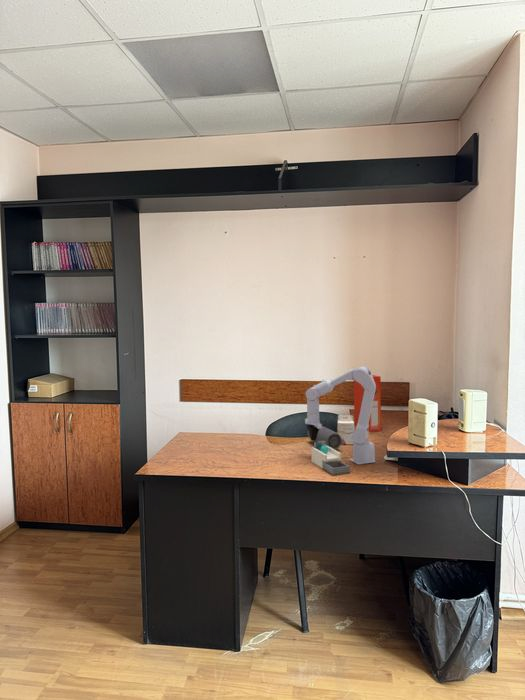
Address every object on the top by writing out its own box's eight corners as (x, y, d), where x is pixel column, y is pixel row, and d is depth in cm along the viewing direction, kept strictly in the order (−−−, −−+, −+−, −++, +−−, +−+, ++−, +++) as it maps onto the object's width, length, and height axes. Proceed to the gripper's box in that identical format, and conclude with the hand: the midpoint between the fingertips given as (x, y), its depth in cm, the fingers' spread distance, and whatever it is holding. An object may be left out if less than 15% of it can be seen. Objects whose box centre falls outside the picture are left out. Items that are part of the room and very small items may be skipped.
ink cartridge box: (337, 444, 252) (337, 417, 251) (337, 442, 257) (337, 415, 256) (354, 444, 251) (354, 417, 250) (353, 442, 256) (353, 415, 255)
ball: (326, 451, 223) (326, 444, 222) (329, 453, 219) (329, 446, 219) (319, 452, 221) (319, 444, 221) (322, 454, 218) (322, 446, 218)
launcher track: (326, 459, 227) (326, 445, 227) (341, 468, 214) (341, 453, 214) (311, 461, 225) (311, 447, 224) (325, 470, 211) (325, 455, 211)
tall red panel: (368, 432, 277) (368, 377, 274) (353, 425, 293) (353, 373, 291) (381, 431, 279) (380, 376, 277) (365, 424, 296) (365, 373, 293)
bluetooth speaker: (306, 442, 259) (305, 423, 258) (321, 440, 262) (321, 422, 262) (326, 453, 238) (326, 433, 237) (342, 450, 241) (342, 431, 240)
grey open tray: (340, 467, 215) (340, 460, 215) (349, 473, 207) (349, 466, 207) (323, 469, 212) (323, 463, 212) (332, 475, 205) (332, 468, 205)
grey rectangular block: (324, 448, 226) (324, 440, 226) (326, 449, 225) (326, 441, 224) (314, 450, 225) (314, 441, 224) (316, 451, 223) (315, 442, 222)
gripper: (299, 410, 235) (299, 437, 236) (312, 416, 222) (312, 444, 223) (312, 409, 238) (312, 436, 239) (325, 414, 224) (326, 443, 225)
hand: (313, 440), depth 231 cm, fingers closed
